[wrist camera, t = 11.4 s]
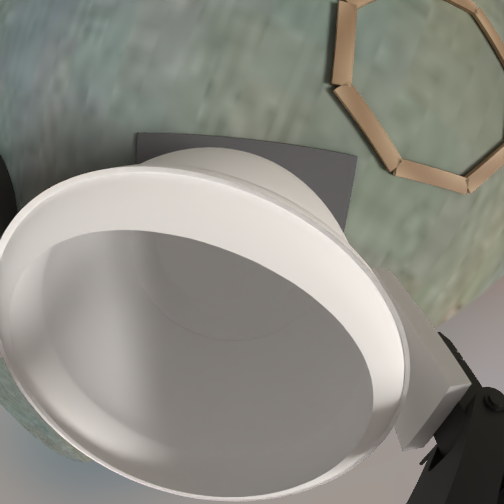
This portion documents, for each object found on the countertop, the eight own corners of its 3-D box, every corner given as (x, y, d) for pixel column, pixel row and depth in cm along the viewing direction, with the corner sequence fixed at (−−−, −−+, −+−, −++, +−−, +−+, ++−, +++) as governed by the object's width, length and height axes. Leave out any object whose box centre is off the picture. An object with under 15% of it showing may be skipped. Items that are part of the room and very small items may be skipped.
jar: (130, 199, 19) (-48, 315, 5) (262, 111, 17) (242, 18, 3) (216, 319, 22) (167, 511, 8) (343, 253, 20) (440, 446, 6)
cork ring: (320, 160, 18) (322, 161, 18) (340, -47, 12) (341, -50, 12) (503, 206, 18) (507, 208, 18) (514, 31, 12) (517, 30, 12)
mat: (139, 282, 22) (136, 285, 22) (140, 132, 18) (137, 132, 18) (323, 306, 22) (324, 310, 22) (355, 155, 18) (357, 156, 18)
